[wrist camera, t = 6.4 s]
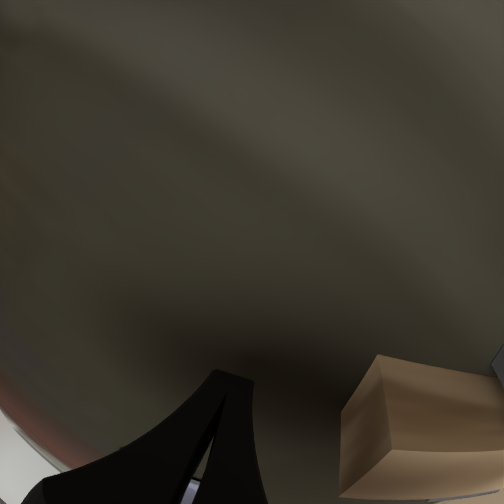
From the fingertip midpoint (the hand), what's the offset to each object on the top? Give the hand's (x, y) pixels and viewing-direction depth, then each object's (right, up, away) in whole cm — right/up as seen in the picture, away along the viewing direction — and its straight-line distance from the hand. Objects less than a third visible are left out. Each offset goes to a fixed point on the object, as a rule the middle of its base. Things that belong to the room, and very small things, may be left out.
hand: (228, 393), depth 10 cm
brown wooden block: (+10, -2, +1) cm, 10 cm away
